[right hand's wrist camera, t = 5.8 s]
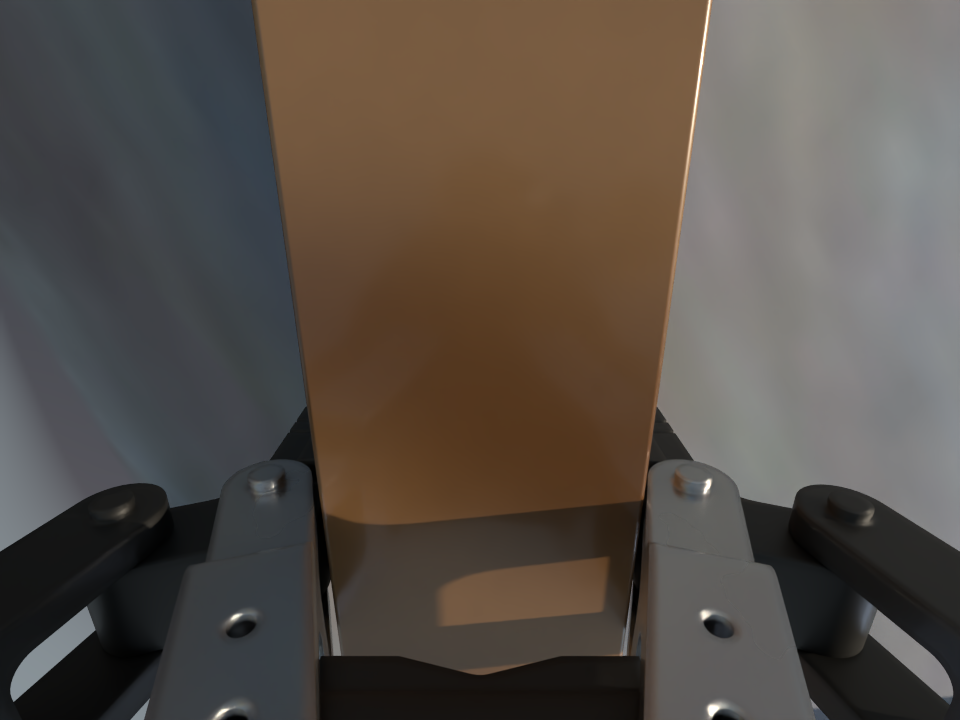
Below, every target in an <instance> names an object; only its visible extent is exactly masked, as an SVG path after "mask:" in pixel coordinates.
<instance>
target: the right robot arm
mask: <svg viewBox="0 0 960 720" xmlns="http://www.w3.org/2000/svg"><path fill="white" fill-rule="evenodd" d="M330 580H331V577H330V570H329V562H328V555H327V548H326V540H325V533H324V526H323V519H322V511H321V504H320V497H319V490H318V482H317V475H316V468H315V460H314V453H313V446H312V439H311V431H310V424H309V417H308V410H307V407H305V409H304V410H303V412H302V413H301V415H300V416H299V418H298V419H297V422H295V424H294V425H293V427H292V428H291V430H290V433H288V434H287V436H286V437H285V439H284V440H283V442H282V443H281V445H280V446H279V447H278V449H277V450H276V452H275V453H274V455H273V456H272V458H271V459H270V460H269V461H264V462H260V463H256V464H253V465H251V466H248V467H246V468H244V469H242V470H240V471H238V472H237V473H235V474H234V475H233V476H231V477H230V478H229V479H228V480H227V481H226V482H225V484H224V485H223V488H222V490H221V495H220V498H218V499H214V500H210V501H205V502H200V503H194V504H189V505H184V506H179V507H174V508H170V506H169V503H168V499H167V495H166V493H165V491H164V490H163V489H162V488H161V487H159V486H157V485H153V484H147V483H136V484H127V485H122V486H117V487H113V488H110V489H107V490H104V491H101V492H99V493H96V494H94V495H92V496H90V497H88V498H86V499H84V500H82V501H81V502H79V503H77V504H76V505H74V506H72V507H71V508H69V509H68V510H66V511H64V512H63V513H61V514H60V515H58V516H56V517H55V518H53V519H52V520H50V521H48V522H47V523H45V524H44V525H42V526H40V527H39V528H37V529H36V530H34V531H32V532H31V533H29V534H28V535H26V536H24V537H23V538H21V539H20V540H18V541H16V542H15V543H13V544H12V545H10V546H8V547H7V548H5V549H4V550H2V551H0V720H131V718H132V717H133V716H134V715H135V714H136V713H137V712H138V711H139V709H140V708H141V707H142V706H143V705H144V704H145V703H146V702H147V701H148V699H149V698H150V700H149V704H148V708H147V711H146V715H145V719H144V720H816V719H815V715H814V711H813V707H812V704H811V700H810V698H811V699H812V701H813V702H814V703H815V704H816V705H817V706H818V707H819V708H820V709H821V711H822V712H823V713H824V714H825V715H826V716H827V717H828V718H829V719H830V720H960V551H958V550H956V549H955V548H953V547H952V546H950V545H948V544H947V543H945V542H944V541H942V540H940V539H939V538H937V537H936V536H934V535H932V534H931V533H929V532H928V531H926V530H924V529H923V528H921V527H920V526H918V525H916V524H915V523H913V522H912V521H910V520H908V519H907V518H905V517H904V516H902V515H900V514H899V513H897V512H896V511H894V510H892V509H891V508H889V507H888V506H886V505H884V504H883V503H881V502H879V501H878V500H876V499H874V498H872V497H870V496H867V495H865V494H862V493H860V492H857V491H854V490H851V489H847V488H843V487H839V486H833V485H810V486H807V487H804V488H802V489H800V490H799V491H798V492H797V494H796V497H795V500H794V504H793V508H787V507H782V506H777V505H771V504H766V503H761V502H756V501H752V500H748V499H744V498H741V497H740V495H739V490H738V488H737V485H736V484H735V482H734V481H733V480H732V479H731V478H730V477H729V476H727V475H726V474H725V473H723V472H722V471H720V470H718V469H716V468H714V467H712V466H709V465H707V464H704V463H700V462H696V461H694V460H693V459H692V457H691V456H690V454H689V453H688V451H687V450H686V449H685V447H684V446H683V444H682V443H681V441H680V440H679V438H678V437H677V435H676V434H675V433H673V429H672V428H671V427H670V425H669V424H668V423H666V419H665V418H664V416H663V415H662V413H661V412H660V410H659V409H658V408H657V407H656V414H655V421H654V429H653V436H652V443H651V450H650V458H649V465H648V472H647V479H646V487H645V494H644V501H643V508H642V516H641V523H640V530H639V538H638V545H637V552H636V559H635V567H634V574H633V586H632V593H631V600H630V614H629V629H628V644H627V656H559V657H555V658H551V659H547V660H543V661H539V662H535V663H531V664H527V665H523V666H519V667H515V668H510V669H506V670H502V671H498V672H494V673H490V674H485V675H475V674H470V673H466V672H462V671H458V670H454V669H450V668H445V667H441V666H437V665H433V664H429V663H425V662H421V661H417V660H413V659H409V658H405V657H401V656H333V644H332V629H331V614H330V600H329V593H328V586H329V583H330ZM86 606H87V607H88V610H89V613H90V615H91V618H92V621H93V624H94V626H95V629H96V630H95V631H94V632H93V633H92V634H91V635H90V636H89V637H87V638H86V639H85V640H84V641H83V642H82V643H80V644H79V645H78V646H77V647H76V648H75V649H74V650H72V651H71V652H70V653H69V654H68V655H67V656H66V657H65V658H63V659H62V660H61V661H60V662H59V663H58V664H57V665H55V666H54V667H53V668H52V669H51V670H50V671H49V672H48V673H46V674H45V675H44V676H43V677H42V678H41V679H39V680H38V681H37V682H36V683H35V684H34V685H33V686H31V687H30V688H29V689H28V690H27V691H26V692H25V693H24V694H22V695H21V696H20V697H19V698H18V699H17V700H16V701H14V702H13V700H12V698H11V695H10V686H11V682H12V679H13V676H14V674H15V672H16V670H17V668H18V667H19V665H20V664H21V662H22V661H23V660H24V658H25V657H26V656H27V655H28V654H29V653H30V652H31V651H32V650H34V649H35V648H36V647H37V646H38V645H40V644H41V643H42V642H43V641H44V640H46V639H47V638H48V637H49V636H51V635H52V634H53V633H54V632H55V631H57V630H58V629H59V628H60V627H62V626H63V625H64V624H65V623H66V622H68V621H69V620H70V619H71V618H72V617H74V616H75V615H76V614H77V613H79V612H80V611H81V610H82V609H83V608H85V607H86ZM877 609H878V610H879V611H880V612H881V613H883V614H884V615H885V616H886V617H888V618H889V619H890V620H891V621H892V622H894V623H895V624H896V625H897V626H898V627H900V628H901V629H902V630H903V631H905V632H906V633H907V634H908V635H909V636H911V637H912V638H913V639H914V640H916V641H917V642H918V643H919V644H920V645H922V646H923V647H924V648H925V649H927V650H928V651H929V652H930V653H931V654H932V655H933V656H935V658H936V659H937V660H938V661H939V662H940V663H941V665H942V666H943V667H944V669H945V670H946V672H947V674H948V676H949V678H950V680H951V683H952V686H953V700H952V702H951V704H950V705H949V704H948V703H947V702H946V701H944V700H943V699H942V698H941V697H940V696H939V695H938V694H937V693H935V692H934V691H933V690H932V689H931V688H930V687H929V686H927V685H926V684H925V683H924V682H923V681H922V680H921V679H919V678H918V677H917V676H916V675H915V674H914V673H913V672H911V671H910V670H909V669H908V668H907V667H906V666H905V665H903V664H902V663H901V662H900V661H899V660H898V659H897V658H895V657H894V656H893V655H892V654H891V653H890V652H889V651H888V650H886V649H885V648H884V647H883V646H882V645H881V644H880V643H878V642H877V641H876V640H875V639H874V638H873V637H872V636H870V635H869V634H868V633H869V631H870V628H871V625H872V623H873V620H874V617H875V614H876V612H877Z"/></svg>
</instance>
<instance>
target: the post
mask: <svg viewBox="0 0 960 720" xmlns="http://www.w3.org/2000/svg"><path fill="white" fill-rule="evenodd" d="M251 3H252V10H253V17H254V24H255V32H256V39H257V46H258V53H259V61H260V68H261V75H262V83H263V90H264V97H265V104H266V112H267V119H268V126H269V133H270V141H271V148H272V155H273V162H274V170H275V177H276V184H277V192H278V199H279V206H280V213H281V221H282V228H283V235H284V242H285V250H286V257H287V264H288V271H289V279H290V286H291V293H292V301H293V308H294V315H295V322H296V330H297V337H298V344H299V351H300V359H301V366H302V373H303V381H304V388H305V395H306V402H307V410H308V417H309V424H310V431H311V439H312V446H313V453H314V460H315V468H316V475H317V482H318V490H319V497H320V504H321V511H322V519H323V526H324V533H325V540H326V548H327V555H328V562H329V570H330V577H331V584H332V591H333V599H334V606H335V613H336V620H337V628H338V635H339V642H340V649H341V656H401V657H405V658H409V659H413V660H417V661H421V662H425V663H429V664H433V665H437V666H441V667H445V668H450V669H454V670H458V671H462V672H466V673H470V674H475V675H485V674H490V673H494V672H498V671H502V670H506V669H510V668H515V667H519V666H523V665H527V664H531V663H535V662H539V661H543V660H547V659H551V658H555V657H559V656H622V654H623V646H624V639H625V632H626V625H627V617H628V610H629V603H630V596H631V588H632V581H633V574H634V567H635V559H636V552H637V545H638V538H639V530H640V523H641V516H642V508H643V501H644V494H645V487H646V479H647V472H648V465H649V458H650V450H651V443H652V436H653V429H654V421H655V414H656V407H657V399H658V392H659V385H660V378H661V370H662V363H663V356H664V349H665V341H666V334H667V327H668V320H669V312H670V305H671V298H672V290H673V283H674V276H675V269H676V261H677V254H678V247H679V240H680V232H681V225H682V218H683V211H684V203H685V196H686V189H687V181H688V174H689V167H690V160H691V152H692V145H693V138H694V131H695V123H696V116H697V109H698V102H699V94H700V87H701V80H702V72H703V65H704V58H705V51H706V43H707V36H708V29H709V22H710V14H711V7H712V0H251Z"/></svg>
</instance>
